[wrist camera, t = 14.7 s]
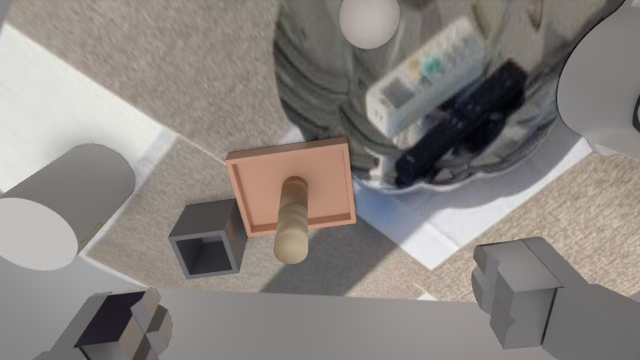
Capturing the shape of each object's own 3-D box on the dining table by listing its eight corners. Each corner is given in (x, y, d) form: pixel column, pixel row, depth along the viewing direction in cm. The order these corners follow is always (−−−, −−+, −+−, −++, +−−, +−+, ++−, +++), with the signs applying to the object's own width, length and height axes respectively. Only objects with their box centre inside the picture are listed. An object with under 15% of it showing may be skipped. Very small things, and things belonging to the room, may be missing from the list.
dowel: (305, 174, 42) (305, 234, 31) (309, 196, 43) (310, 261, 33) (279, 177, 42) (270, 239, 31) (284, 199, 43) (277, 265, 33)
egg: (361, 55, 36) (373, 69, 29) (325, 15, 34) (329, 20, 27) (400, 14, 34) (423, 19, 27) (364, -30, 32) (380, -36, 26)
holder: (235, 198, 44) (224, 229, 38) (247, 238, 47) (238, 272, 41) (186, 205, 44) (168, 237, 38) (201, 244, 47) (186, 279, 41)
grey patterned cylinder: (83, 207, 44) (12, 275, 33) (50, 149, 40) (-43, 205, 29) (145, 198, 43) (93, 264, 33) (118, 139, 39) (49, 191, 29)
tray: (345, 136, 40) (347, 143, 38) (354, 213, 45) (356, 222, 43) (228, 152, 41) (224, 160, 39) (250, 227, 46) (247, 237, 44)
